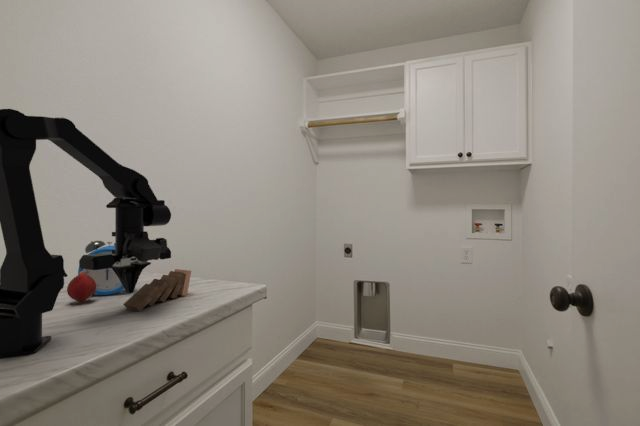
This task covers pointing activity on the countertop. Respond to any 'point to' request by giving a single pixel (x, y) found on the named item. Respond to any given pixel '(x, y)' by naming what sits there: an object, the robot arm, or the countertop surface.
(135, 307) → the tile
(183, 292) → the tile
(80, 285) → the onion
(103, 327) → the countertop surface
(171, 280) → the tile
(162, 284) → the tile
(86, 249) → the alarm clock
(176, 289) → the tile
